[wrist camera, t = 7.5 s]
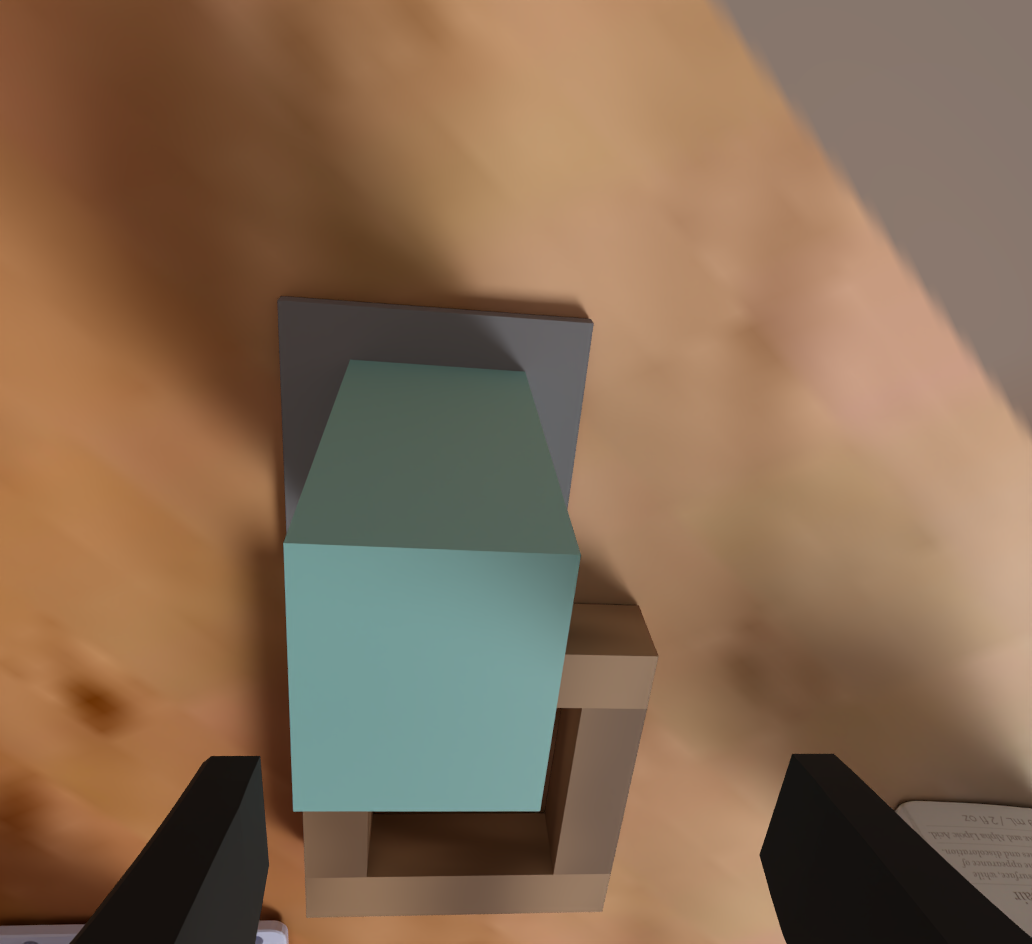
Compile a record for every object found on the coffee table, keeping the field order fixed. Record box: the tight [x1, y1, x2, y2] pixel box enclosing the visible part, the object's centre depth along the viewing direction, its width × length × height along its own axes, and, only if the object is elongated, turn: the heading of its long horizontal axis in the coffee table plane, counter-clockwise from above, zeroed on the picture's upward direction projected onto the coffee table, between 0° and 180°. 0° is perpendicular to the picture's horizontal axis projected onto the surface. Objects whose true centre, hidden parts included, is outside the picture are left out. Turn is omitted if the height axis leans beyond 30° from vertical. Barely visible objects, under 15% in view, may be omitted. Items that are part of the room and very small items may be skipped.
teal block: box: [283, 360, 581, 811], centre depth 15 cm, size 4×5×8 cm
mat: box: [277, 296, 594, 532], centre depth 19 cm, size 7×7×1 cm
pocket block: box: [303, 604, 658, 918], centre depth 22 cm, size 9×10×2 cm
